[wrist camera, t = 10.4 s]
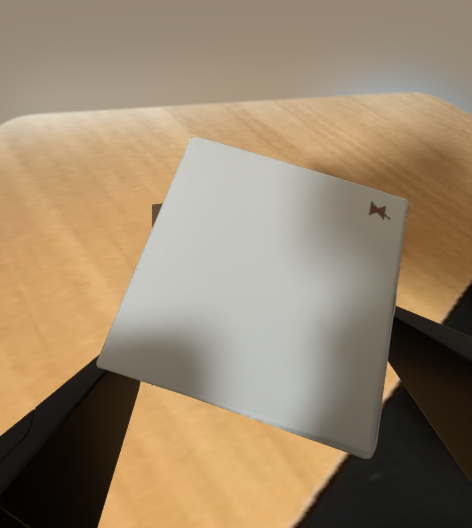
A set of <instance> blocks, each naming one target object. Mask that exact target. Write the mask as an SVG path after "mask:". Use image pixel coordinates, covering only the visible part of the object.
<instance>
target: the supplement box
mask: <svg viewBox="0 0 472 528" xmlns="http://www.w3.org/2000/svg"><path fill="white" fill-rule="evenodd" d="M408 208H409V201H408V200H407V199H406V198H402V197H399V196H395V195H392V194H389V193H386V192H384V191H381V190H377V189H374V188H371V187H368V186H364V185H361V184H358V183H355V182H351V181H348V180H344V179H341V178H338V177H334V176H331V175H327V174H324V173H321V172H317V171H314V170H311V169H307V168H304V167H300V166H297V165H293V164H290V163H287V162H284V161H280V160H277V159H274V158H270V157H267V156H263V155H260V154H256V153H253V152H250V151H246V150H243V149H240V148H237V147H233V146H229V145H227V144H223V143H219V142H216V141H212V140H208V139H204V138H199V137H192V138H191V139H190V141H189V143H188V145H187V148H186V150H185V152H184V155H183V157H182V160H181V162H180V164H179V167H178V169H177V171H176V174H175V176H174V178H173V181H172V183H171V185H170V188H169V190H168V192H167V195H166V197H165V199H164V202H163V204H162V207H161V209H160V211H159V214H158V216H157V219H156V221H155V223H154V226H153V228H152V230H151V233H150V235H149V238H148V240H147V242H146V245H145V247H144V250H143V252H142V254H141V257H140V259H139V262H138V264H137V266H136V269H135V271H134V273H133V276H132V278H131V281H130V283H129V286H128V288H127V290H126V293H125V295H124V298H123V300H122V302H121V305H120V307H119V310H118V312H117V315H116V317H115V319H114V322H113V324H112V327H111V329H110V331H109V334H108V336H107V339H106V341H105V344H104V346H103V348H102V350H101V353H100V355H99V357H98V359H97V363H96V365H97V367H98V368H101V369H105V370H109V371H112V372H115V373H118V374H121V375H124V376H127V377H130V378H133V379H136V380H140V381H143V382H146V383H149V384H152V385H155V386H158V387H161V388H165V389H168V390H171V391H174V392H177V393H180V394H183V395H186V396H189V397H192V398H195V399H198V400H201V401H203V402H206V403H209V404H212V405H215V406H217V407H220V408H223V409H226V410H229V411H232V412H234V413H237V414H240V415H243V416H246V417H249V418H251V419H254V420H257V421H260V422H263V423H266V424H269V425H271V426H274V427H277V428H280V429H283V430H285V431H288V432H291V433H294V434H296V435H299V436H302V437H305V438H308V439H310V440H313V441H316V442H319V443H322V444H325V445H327V446H330V447H333V448H336V449H339V450H341V451H344V452H347V453H350V454H352V455H355V456H358V457H361V458H364V459H369V458H371V457H372V455H373V453H374V451H375V449H376V445H377V441H378V431H379V424H380V417H381V408H382V398H383V390H384V383H385V376H386V369H387V361H388V353H389V345H390V338H391V330H392V323H393V317H394V313H395V306H396V297H397V285H398V277H399V270H400V261H401V254H402V246H403V239H404V232H405V224H406V217H407V212H408Z"/></svg>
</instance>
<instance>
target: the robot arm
mask: <svg viewBox="0 0 472 528" xmlns="http://www.w3.org/2000/svg"><path fill="white" fill-rule="evenodd" d="M99 355H100V354H99ZM99 355H98V356H97V357H96V358H95V359H93V360H92V361H91V362H90V363H89V364H87V365H86V366H85V367H84V368H83V369H81V370H80V371H79V372H78V373H77V374H75V375H74V376H73V377H72V378H70V379H69V380H68V381H67V382H66V383H64V384H63V385H62V386H61V387H60V388H58V389H57V390H56V391H55V392H54V393H52V394H51V395H50V396H49V397H48V398H46V399H45V400H44V401H43V402H41V403H40V404H39V405H38V406H37V407H36V408H35V409H33V410H32V411H31V412H29V413H28V414H27V415H26V416H24V417H23V418H22V419H21V420H20V421H18V422H17V423H16V424H15V425H13V426H12V427H11V428H10V429H9V430H7V431H6V432H5V433H4V434H2V435H1V436H0V528H98V524H99V521H100V518H101V514H102V511H103V508H104V504H105V501H106V498H107V494H108V491H109V488H110V484H111V481H112V478H113V474H114V471H115V468H116V464H117V461H118V458H119V454H120V451H121V448H122V444H123V441H124V438H125V434H126V431H127V428H128V424H129V421H130V418H131V415H132V411H133V408H134V405H135V401H136V398H137V394H138V391H139V387H140V382H141V381H140V380H136V379H133V378H130V377H127V376H124V375H121V374H118V373H115V372H112V371H109V370H105V369H101V368H98V367H97V365H96V363H97V359H98V357H99ZM388 362H389V363H390V365H391V366H392V368H393V369H394V371H395V372H396V374H397V375H398V377H399V378H400V380H401V381H402V382H403V384H404V385H405V387H406V388H407V390H408V391H409V393H410V394H411V396H412V397H413V399H414V400H415V402H416V403H417V404H418V406H419V407H420V409H421V410H422V412H423V413H424V415H425V416H426V418H427V419H428V421H429V422H430V423H431V425H432V426H433V428H434V429H435V431H436V432H437V434H438V435H439V437H440V438H441V440H442V441H443V443H444V444H445V445H446V447H447V448H448V450H449V451H450V453H451V454H452V456H453V457H454V459H455V460H456V462H457V463H458V464H459V466H460V467H461V469H462V470H463V472H464V473H465V475H466V476H467V478H468V479H469V481H470V482H471V484H472V337H471V336H468V335H466V334H463V333H461V332H458V331H456V330H454V329H451V328H449V327H446V326H444V325H441V324H439V323H437V322H434V321H432V320H429V319H427V318H424V317H422V316H419V315H417V314H415V313H412V312H410V311H407V310H405V309H402V308H400V307H398V306H395V313H394V317H393V323H392V330H391V338H390V345H389V353H388Z"/></svg>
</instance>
